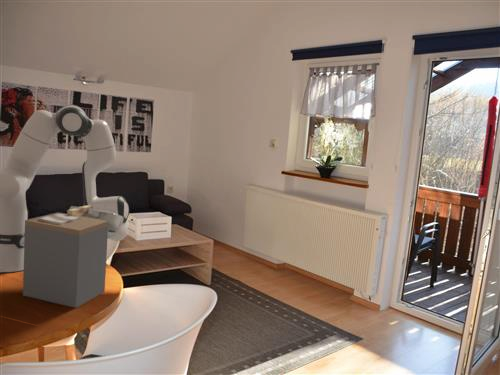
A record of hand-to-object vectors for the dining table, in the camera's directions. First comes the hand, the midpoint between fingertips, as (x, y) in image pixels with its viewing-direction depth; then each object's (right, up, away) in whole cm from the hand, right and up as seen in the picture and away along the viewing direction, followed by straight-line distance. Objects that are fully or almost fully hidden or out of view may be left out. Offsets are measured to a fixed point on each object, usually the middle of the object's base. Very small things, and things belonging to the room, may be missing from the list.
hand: (84, 209), depth 169 cm
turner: (-2, -2, -7) cm, 7 cm away
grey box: (-4, -29, -8) cm, 30 cm away
